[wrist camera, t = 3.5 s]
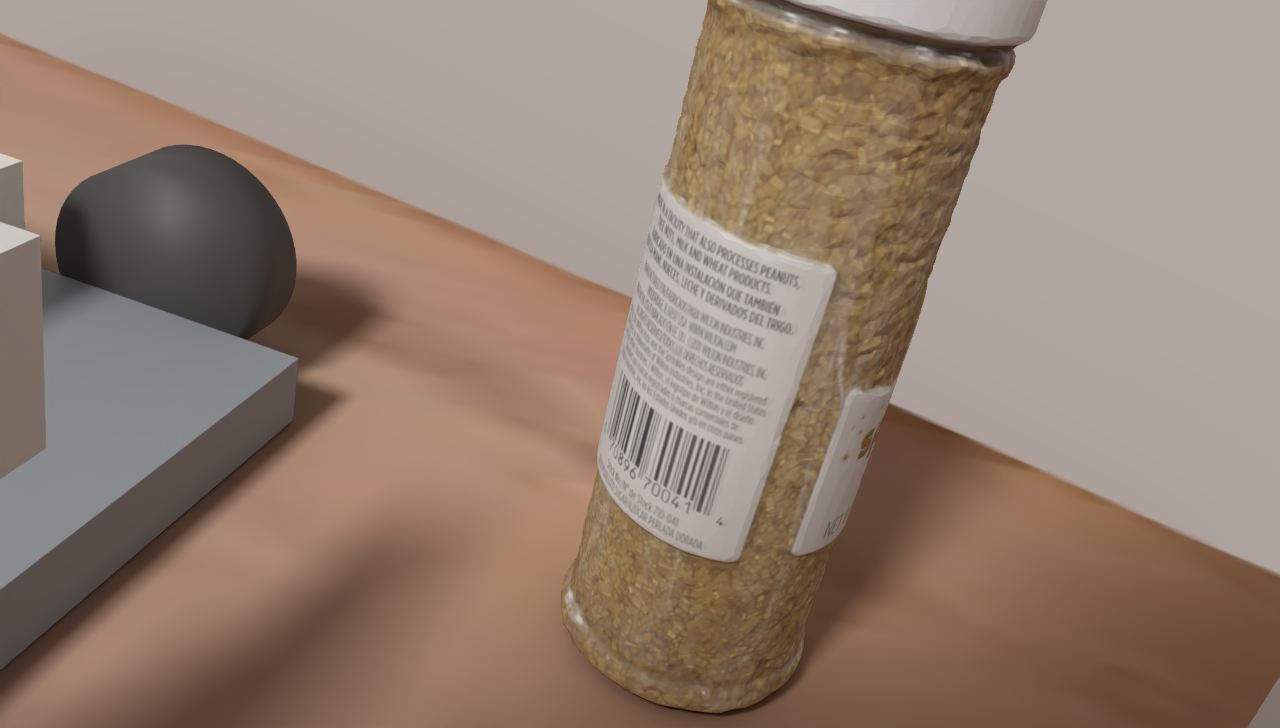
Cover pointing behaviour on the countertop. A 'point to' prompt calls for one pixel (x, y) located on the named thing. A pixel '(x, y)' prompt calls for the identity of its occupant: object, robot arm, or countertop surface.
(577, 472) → the countertop surface
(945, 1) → the spice jar
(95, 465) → the toy chassis
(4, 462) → the robot arm
